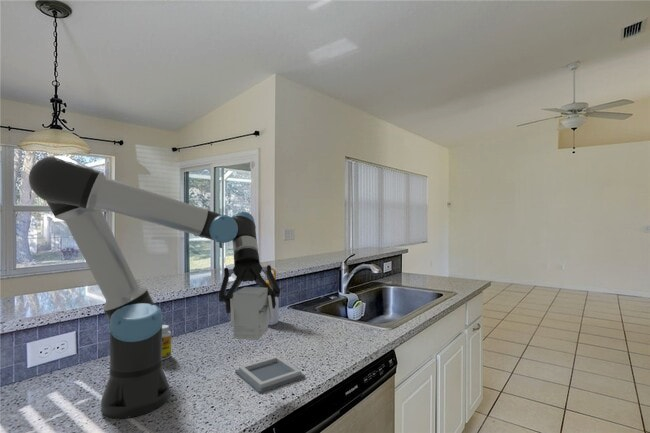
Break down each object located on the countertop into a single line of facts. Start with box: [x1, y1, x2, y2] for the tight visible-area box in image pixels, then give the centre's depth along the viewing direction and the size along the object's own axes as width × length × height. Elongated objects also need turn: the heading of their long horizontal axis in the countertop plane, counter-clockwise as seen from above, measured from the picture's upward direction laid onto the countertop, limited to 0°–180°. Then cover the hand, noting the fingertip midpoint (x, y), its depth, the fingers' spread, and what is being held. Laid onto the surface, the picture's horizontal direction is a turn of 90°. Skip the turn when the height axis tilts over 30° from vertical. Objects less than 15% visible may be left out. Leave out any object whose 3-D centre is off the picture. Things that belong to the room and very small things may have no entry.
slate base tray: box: [234, 355, 306, 394], centre depth 104 cm, size 15×15×2 cm
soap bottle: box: [264, 265, 280, 326], centre depth 152 cm, size 9×9×25 cm
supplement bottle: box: [162, 324, 172, 361], centre depth 115 cm, size 6×6×10 cm
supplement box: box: [232, 286, 269, 341], centre depth 96 cm, size 7×7×13 cm
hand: (252, 320), depth 93 cm, fingers closed on supplement box, 10 cm apart
